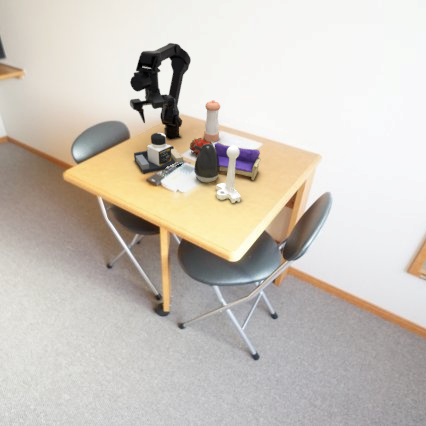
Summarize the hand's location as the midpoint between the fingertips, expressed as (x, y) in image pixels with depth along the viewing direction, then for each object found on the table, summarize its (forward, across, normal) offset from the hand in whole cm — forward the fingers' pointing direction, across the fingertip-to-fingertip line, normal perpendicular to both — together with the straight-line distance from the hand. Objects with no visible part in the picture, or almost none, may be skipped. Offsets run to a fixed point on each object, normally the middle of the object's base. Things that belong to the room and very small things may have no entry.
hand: (154, 121), depth 142 cm
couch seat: (+13, -4, -15) cm, 20 cm away
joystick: (+13, +10, -49) cm, 52 cm away
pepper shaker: (+13, +29, -1) cm, 32 cm away
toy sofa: (+13, +22, -34) cm, 42 cm away
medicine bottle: (+12, -4, -16) cm, 20 cm away
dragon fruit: (+13, +17, -14) cm, 26 cm away
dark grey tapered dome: (+13, +9, -35) cm, 38 cm away
